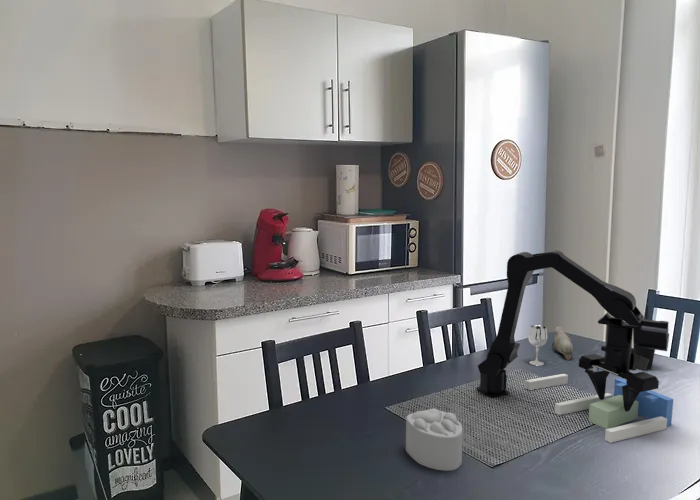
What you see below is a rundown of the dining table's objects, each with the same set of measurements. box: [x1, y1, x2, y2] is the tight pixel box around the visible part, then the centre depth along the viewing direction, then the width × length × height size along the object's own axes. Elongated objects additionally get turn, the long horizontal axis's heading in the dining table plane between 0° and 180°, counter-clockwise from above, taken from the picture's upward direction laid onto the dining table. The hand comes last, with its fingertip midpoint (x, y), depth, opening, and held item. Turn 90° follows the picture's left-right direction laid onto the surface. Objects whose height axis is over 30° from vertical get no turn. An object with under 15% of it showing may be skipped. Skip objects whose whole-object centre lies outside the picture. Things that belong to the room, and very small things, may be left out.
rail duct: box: [525, 373, 674, 444], centre depth 140 cm, size 21×32×6 cm, turn 23°
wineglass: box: [527, 324, 548, 367], centre depth 173 cm, size 6×6×12 cm
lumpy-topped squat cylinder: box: [405, 408, 464, 472], centre depth 115 cm, size 10×13×9 cm
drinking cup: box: [632, 304, 656, 371], centre depth 169 cm, size 8×8×20 cm
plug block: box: [588, 395, 639, 430], centre depth 133 cm, size 12×5×4 cm, turn 120°
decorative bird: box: [551, 325, 574, 361], centre depth 184 cm, size 5×16×8 cm, turn 171°
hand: (614, 405), depth 133 cm, fingers open, 7 cm apart
